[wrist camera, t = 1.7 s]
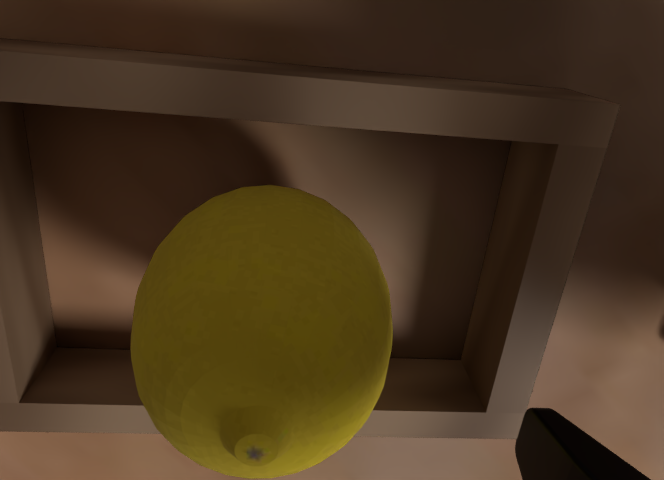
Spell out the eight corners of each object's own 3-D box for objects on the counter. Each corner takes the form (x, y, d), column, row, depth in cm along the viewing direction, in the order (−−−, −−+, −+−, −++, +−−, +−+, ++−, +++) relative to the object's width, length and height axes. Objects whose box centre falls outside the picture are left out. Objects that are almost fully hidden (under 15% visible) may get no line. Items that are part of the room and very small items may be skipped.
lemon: (142, 187, 14) (-11, 373, 7) (332, 121, 14) (378, 245, 7) (222, 342, 17) (168, 605, 9) (387, 289, 16) (465, 518, 9)
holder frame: (567, 89, 14) (620, 105, 12) (488, 384, 18) (517, 439, 16) (-41, 34, 12) (-115, 41, 10) (21, 372, 16) (-23, 430, 14)
